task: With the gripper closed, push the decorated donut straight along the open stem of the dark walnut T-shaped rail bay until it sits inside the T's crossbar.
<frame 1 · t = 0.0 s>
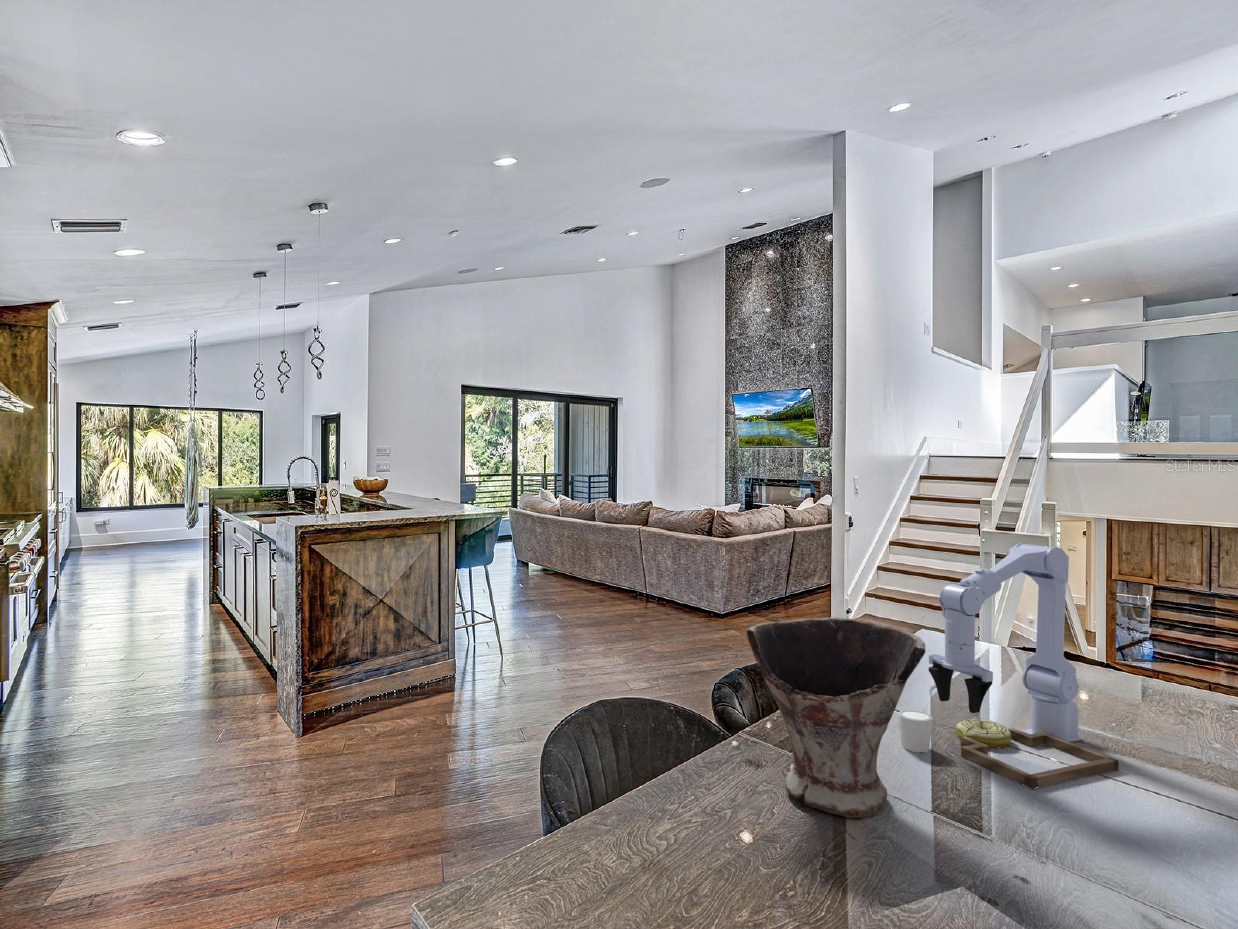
hand: (959, 706, 144), 10 cm above the table, tool pointing down, fingers open, 7 cm apart
white cylinder: (915, 748, 147), on the table
vessel: (833, 793, 125), on the table
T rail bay: (987, 741, 151), on the table
decorated donut: (983, 742, 152), on the table
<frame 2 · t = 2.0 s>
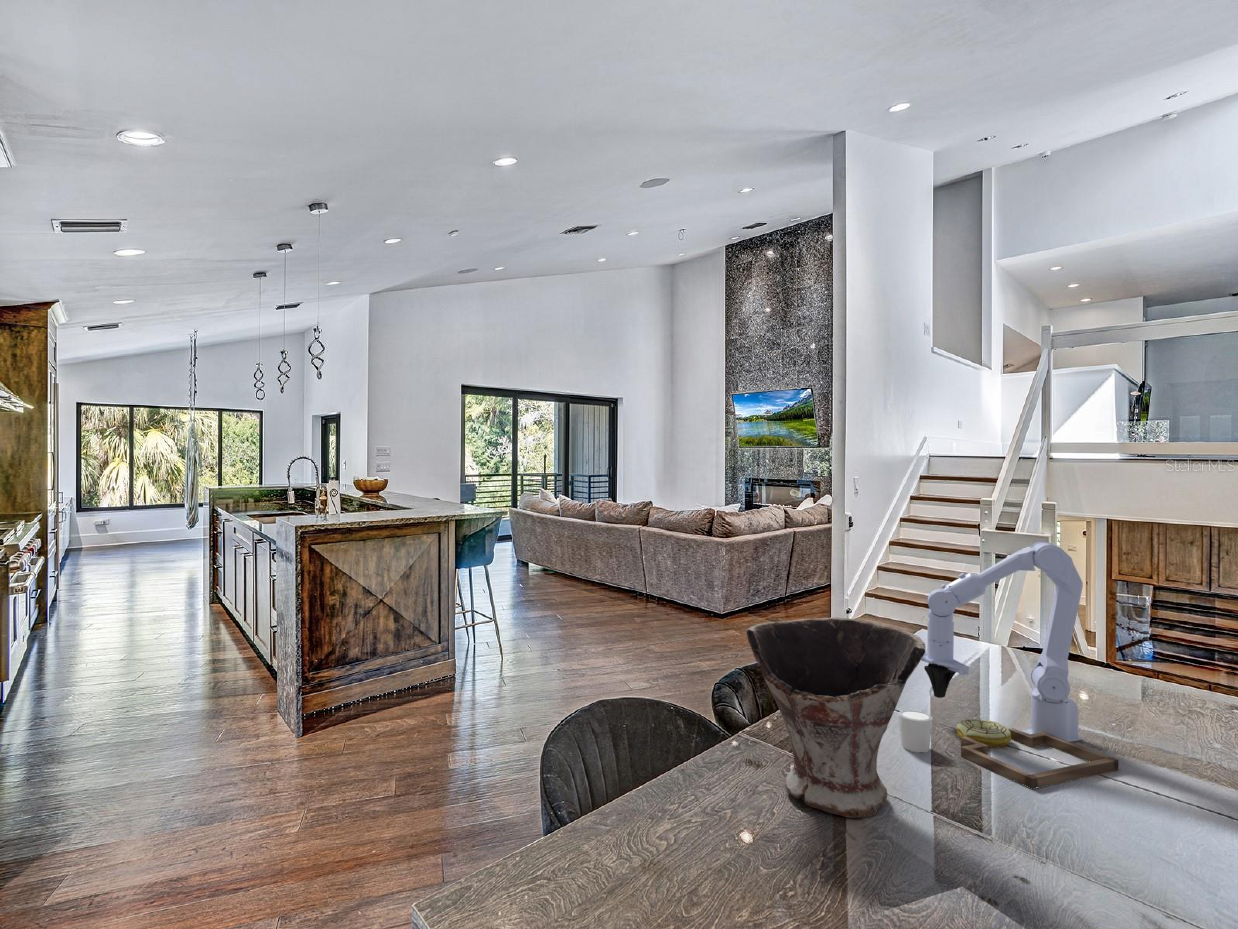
hand: (939, 696, 163), 6 cm above the table, tool pointing down, fingers closed
nothing on the table moved.
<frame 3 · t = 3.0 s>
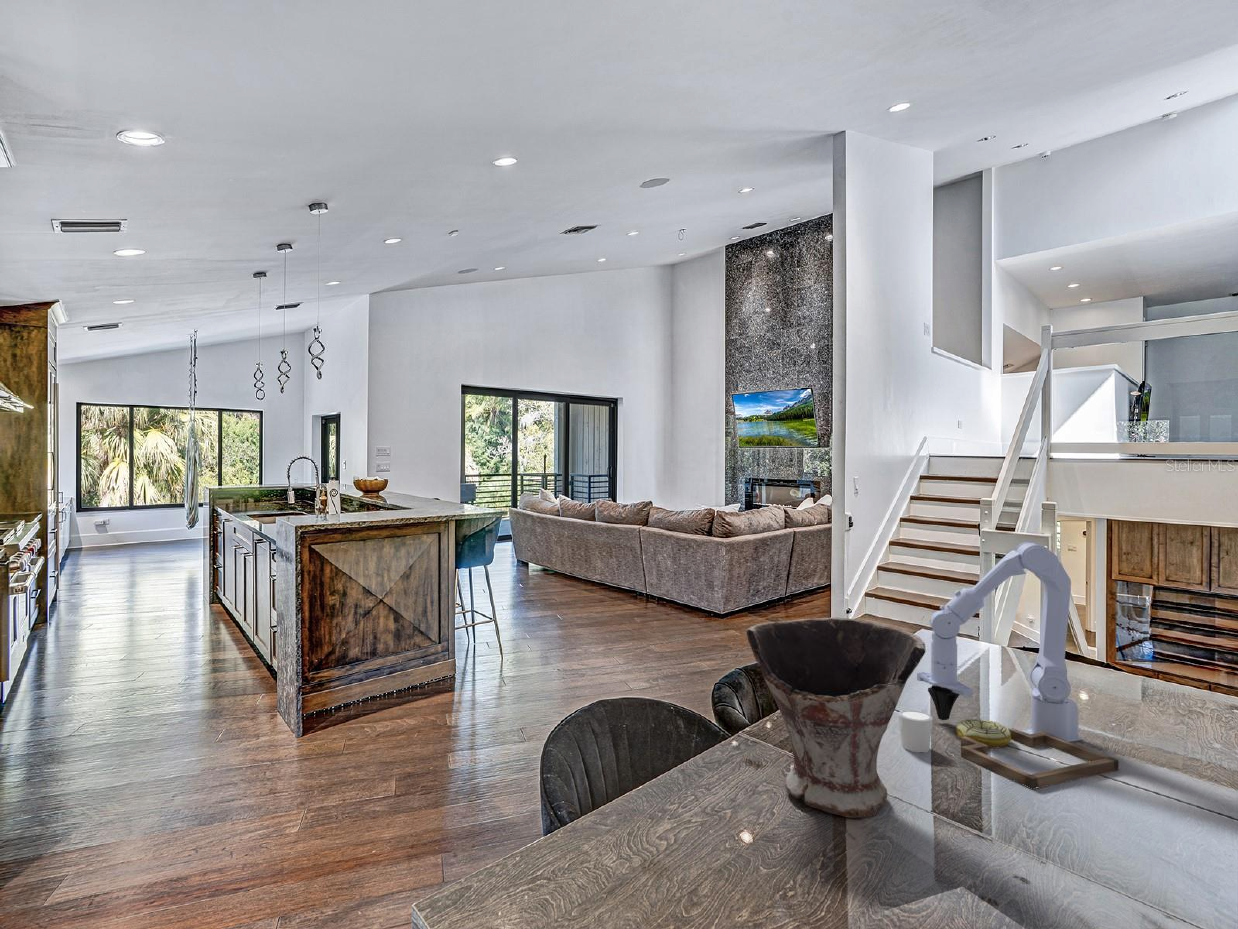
hand: (943, 719, 162), 1 cm above the table, tool pointing down, fingers closed
nothing on the table moved.
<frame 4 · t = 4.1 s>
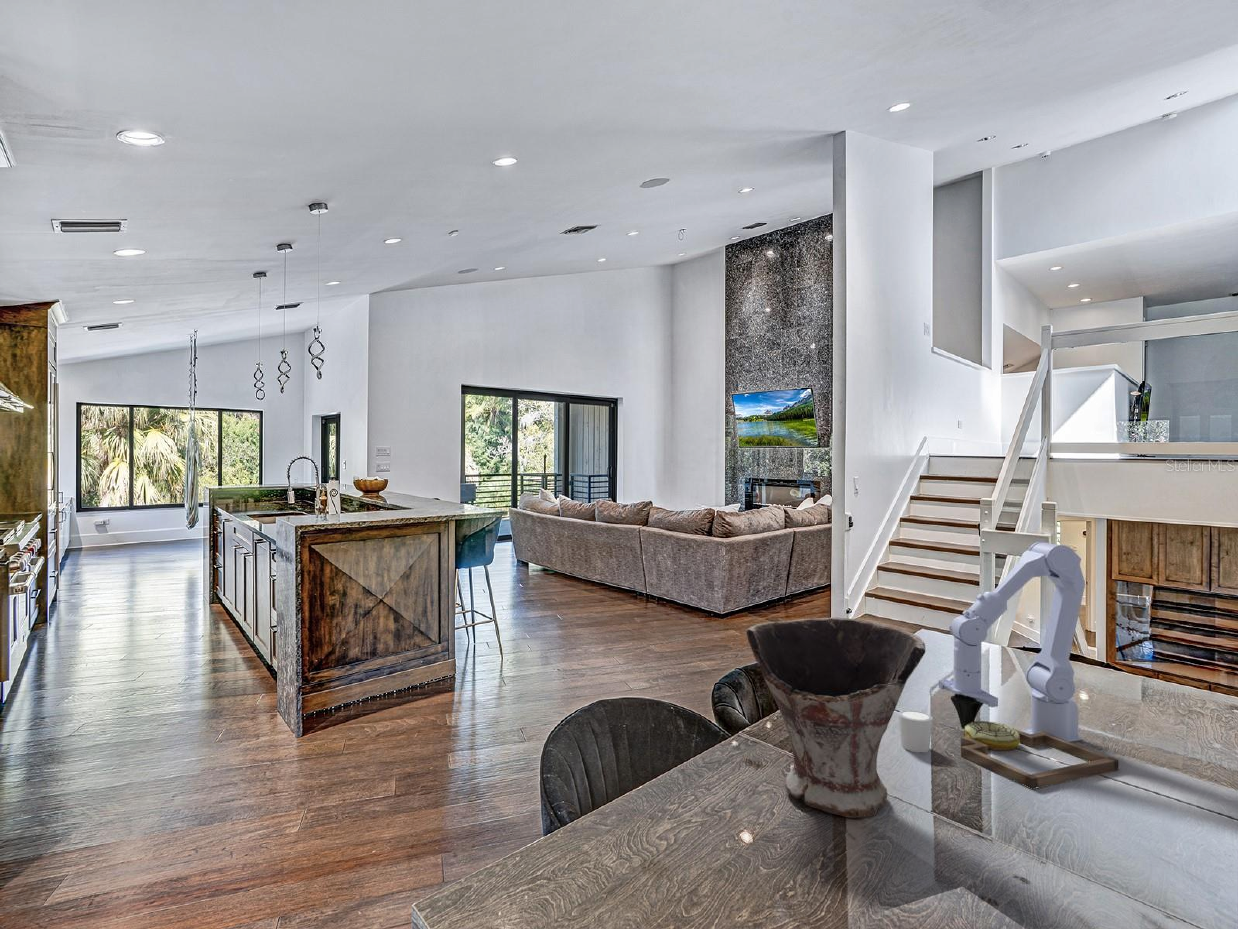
hand: (966, 728, 156), 1 cm above the table, tool pointing down, fingers closed
decorated donut: (991, 744, 150), on the table, touching gripper
everything else where it was.
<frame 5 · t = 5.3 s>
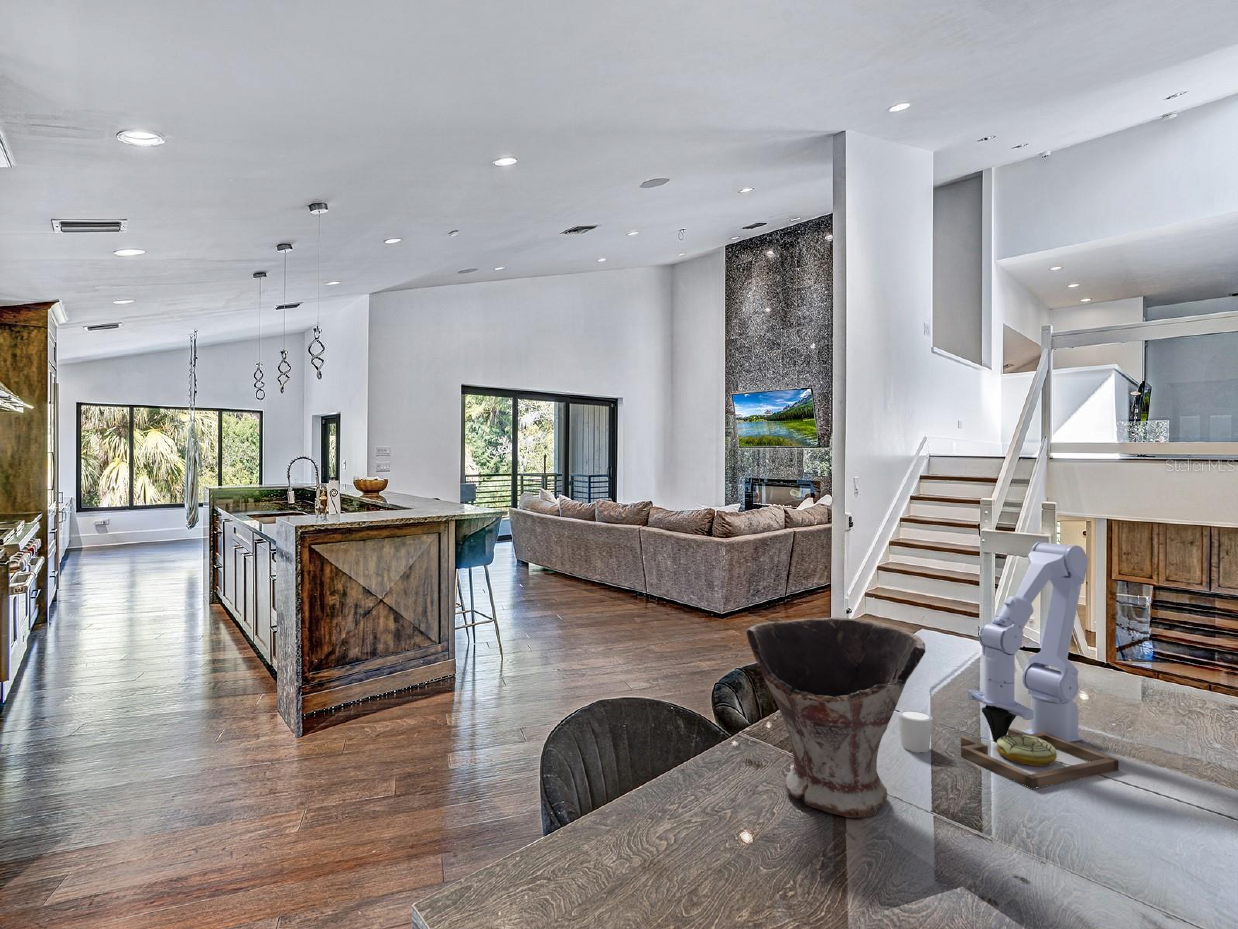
hand: (998, 742, 148), 1 cm above the table, tool pointing down, fingers closed
decorated donut: (1025, 759, 142), on the table, touching gripper
everything else where it was.
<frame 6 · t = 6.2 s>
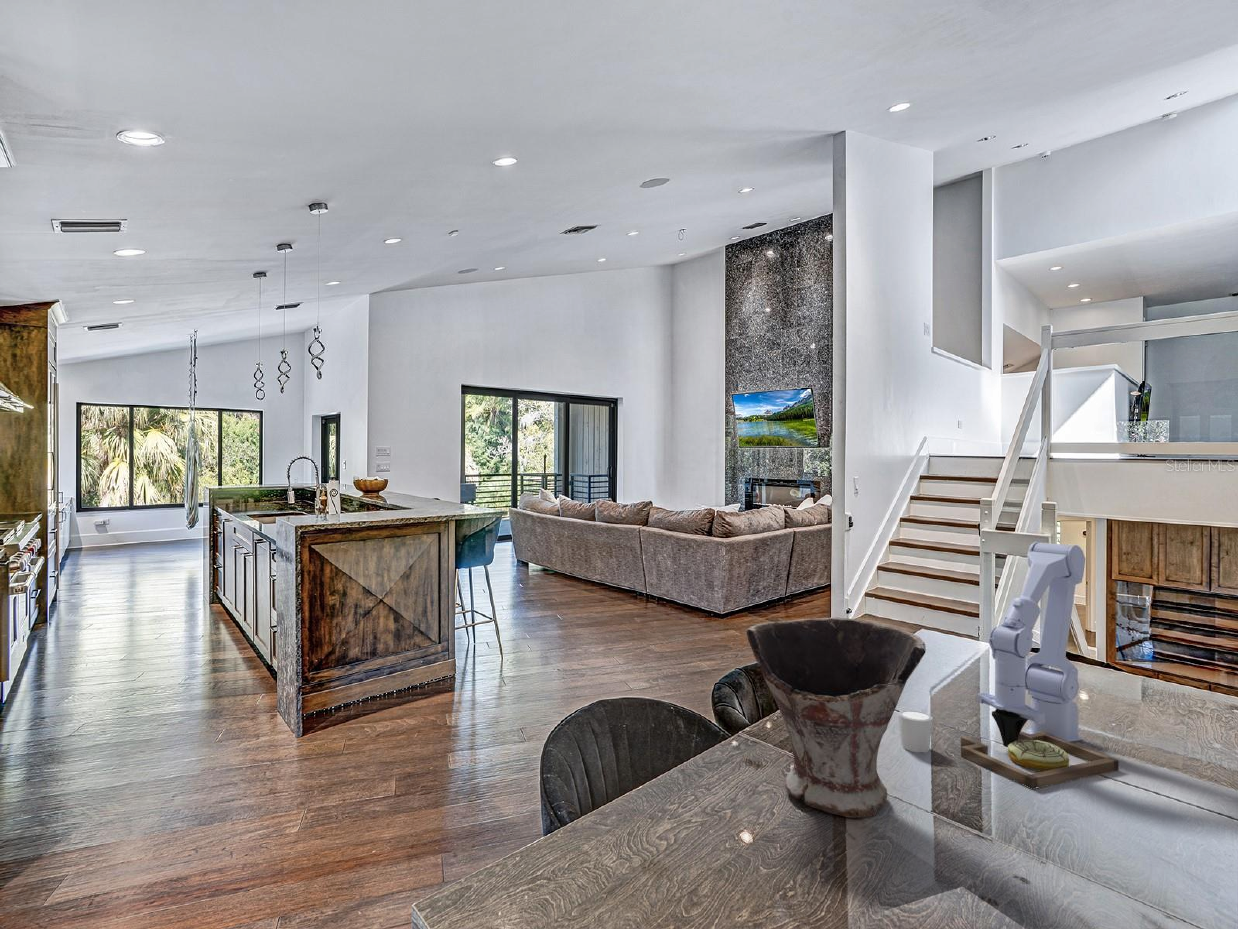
hand: (1009, 746, 146), 1 cm above the table, tool pointing down, fingers closed
decorated donut: (1037, 765, 140), on the table
everything else where it was.
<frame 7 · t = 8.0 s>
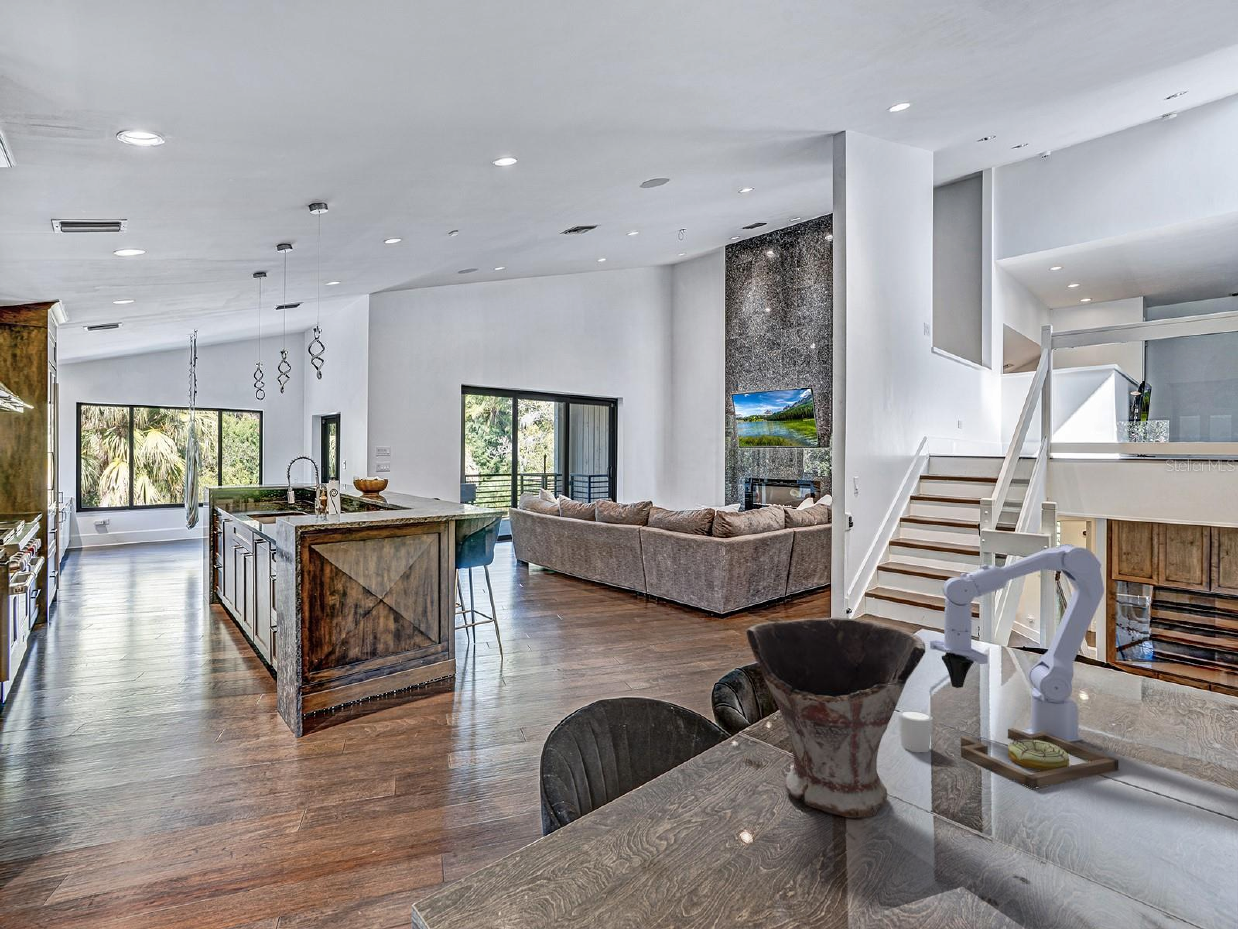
hand: (957, 686, 160), 9 cm above the table, tool pointing down, fingers closed
nothing on the table moved.
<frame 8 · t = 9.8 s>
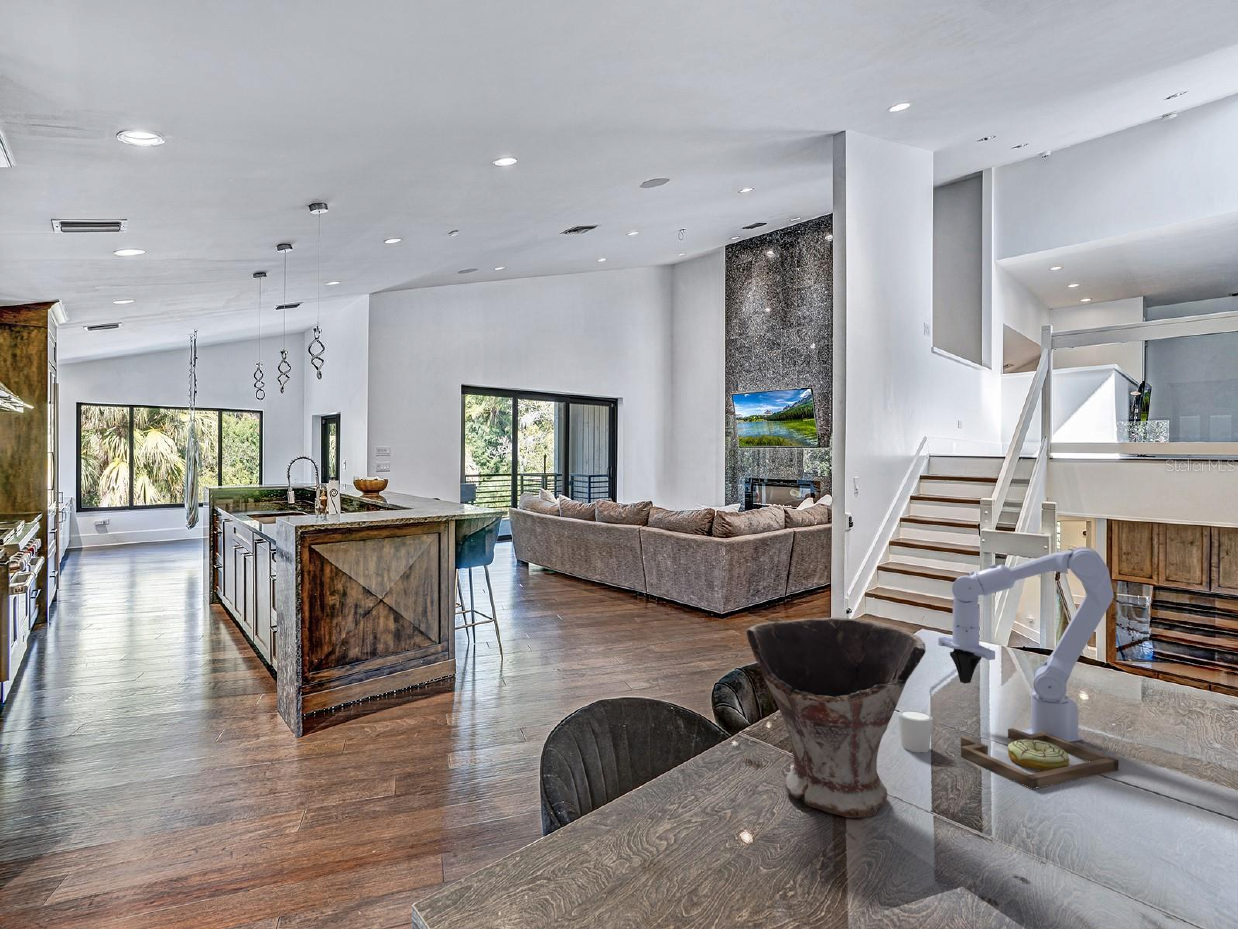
hand: (965, 682, 164), 9 cm above the table, tool pointing down, fingers closed
nothing on the table moved.
at the end: decorated donut inside the target area on the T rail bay (0.9 cm from its centre), point -0.5 cm above the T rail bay's base; decorated donut moved 12.9 cm from its start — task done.
